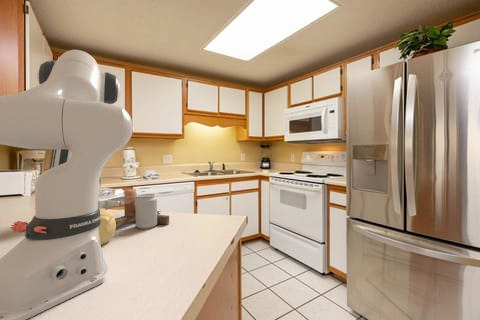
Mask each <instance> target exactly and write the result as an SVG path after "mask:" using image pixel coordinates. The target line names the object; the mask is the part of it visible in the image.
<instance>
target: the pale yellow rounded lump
mask: <svg viewBox="0 0 480 320" xmlns="http://www.w3.org/2000/svg"><path fill="white" fill-rule="evenodd" d="M100 218H101V219H100V225H99V236H100V244H101V246H102V245H105V244H106V243H108V242H109V241H110V240H112V238H113V237H114V235H115V233H116V231H115V229H116V221H115V219H116V218H115V216H114V214H113V212H110V211H108V210H105V209H104V208H102V209H100Z"/></svg>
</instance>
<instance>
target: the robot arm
mask: <svg viewBox="0 0 480 320" xmlns="http://www.w3.org/2000/svg"><path fill="white" fill-rule="evenodd" d="M36 74H37V75H36V76H37V77H36V78H37V82H38V85H36V86H35V87H32V88H29V89H26V90H24V91H20V92H16V93H12V94H4V95H0V145H3V146H8V147H15V148H22V149H28V150H51V154H50V160H49V168H48V169H47V170H45V171H43V172H42V173H41V174H40V175H39V176H38V177H37V178H36V181H35V183H34V206H35V207H34V209H35V210H34V211H35V213H34V214H35V215H34V216H32V219H31V220H30V221H29V222H27V221H20V220H18V221H15V222H13V223H12V224H11V227H10V229H11V231H13V232H15V233H16V232H17V233H25V234H24V238H22V239H21V241H20V242H18V243H17V244H16V245H15V246H13V247H12V248H11V249H10V250H9V251H8V252H6V253H5V254H3V256H2V257H0V320H27V319H30V318H32V317H34V316H36V315H37V314H38V315H39V314H40V313H42V312H44V311H46V310H48V309H51V308H53V307H55V306H57V305H59V304H61V303H63V302H65V301H67V300H70V299H72V298H73V297H76V296H77V295H80V294H82V293H84V292H86V291H89V290H90V289H92V288H94V287H97V286H99V285H100V284H103V283H104V282H105V280H106V279H105V273H106V271H107V268H108V266H107V263H106V261H105V257H104V255H103V250H102V245H101V244H100V236H99V225H100V219H101V218H100V209H102V208H104V209H105V210H106V211H108V210H109V209H110V208H113V207H120V206H122V205H124V190H125V189H123V188H117V187H116V188H110V187H108V188H107V187H101V186H102V185H101V182H102V181H101V175H102V172H103V169H104V166H105V165H107V162H108V161H109V159H110V158H111V157H112V156H113V155H114V154H115V153H116V152H118V151H119V150H120V149H122V148H124V146H126V145H127V144H128V142H129V141H130V140H131V139H132V138H131V137H132V135H133V132H134V131H133V129H134V124H133V121H132V117H131V116H130V114H129V113H128V112H127V110H126V109H125V108H124V107H122V106H119V105H115V103H117V102H118V99H119V98H120V95H121V91H122V89H121V84H120V82H119V79H118V77H117V76H116V75H115V74H112V73H110V72H107V71H105V72H104V71H101V69H100V66H99V64H98V62H97V61H96V59H95V58H94V57H93V56H92V55H91V54H90V53H88V52H86V51H83V50H80V49H71V50H67V51H65V52H64V53H62V54H61V55H60V56H59V57H58V58H57V59H56V60H54V59H53V60H51V61H50V60H48V61H45V62H43V63H40V66H39V68H38V70H37V73H36ZM138 195H139V193H138V192H137V191H136V199H137V198H138V197H137V196H138Z"/></svg>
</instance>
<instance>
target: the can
mask: <svg viewBox="0 0 480 320" xmlns="http://www.w3.org/2000/svg"><path fill="white" fill-rule="evenodd" d="M137 197H138V198H137V199H136V223H135V227H137V229H140V230H149V229H153V228H155V227H156V225H158V223H157V211H158V197H156V194H155V193H144V194H143V193H142V194H138V196H137Z"/></svg>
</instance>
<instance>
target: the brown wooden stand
mask: <svg viewBox="0 0 480 320" xmlns="http://www.w3.org/2000/svg"><path fill="white" fill-rule="evenodd" d="M123 190H124V204H123V206H124V209H123V211H124V216H120V217H117V218H115V221H116V227H118V226H121V225H123V224H126V223H129V222H132V221H135V220H136V192H137V189H136V188H127V189H123ZM159 224H160V225H166V226H167V225H169V224H170V215H164V214H158V215H157V225H159Z"/></svg>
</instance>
